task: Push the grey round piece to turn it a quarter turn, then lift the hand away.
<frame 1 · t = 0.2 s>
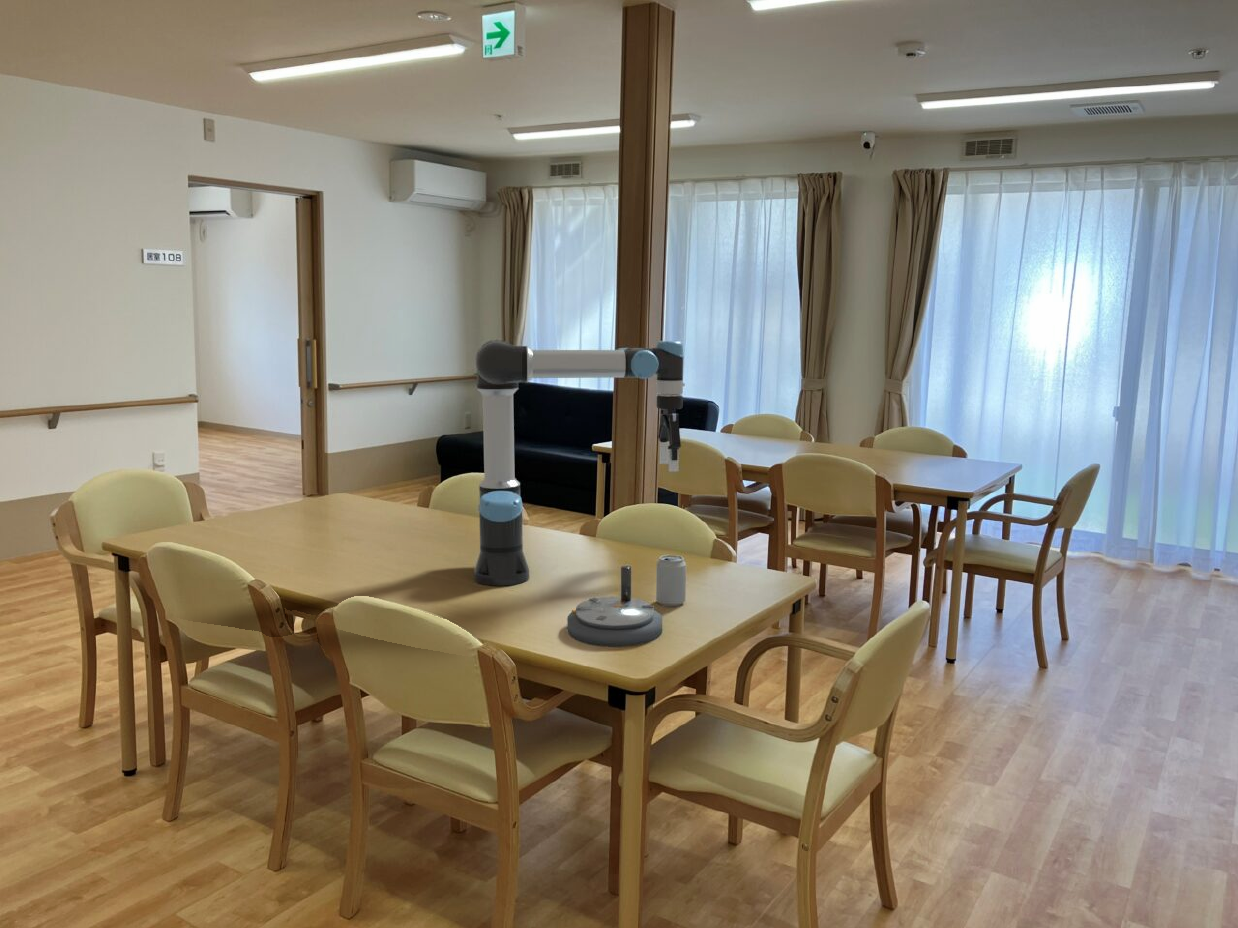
hand: (668, 467, 282), 28 cm above the table, tool pointing down, fingers open, 13 cm apart
can: (670, 603, 246), on the table
grey round piece: (614, 595, 223), point 8 cm above the table, hinge at 0.0°
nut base: (614, 630, 225), on the table
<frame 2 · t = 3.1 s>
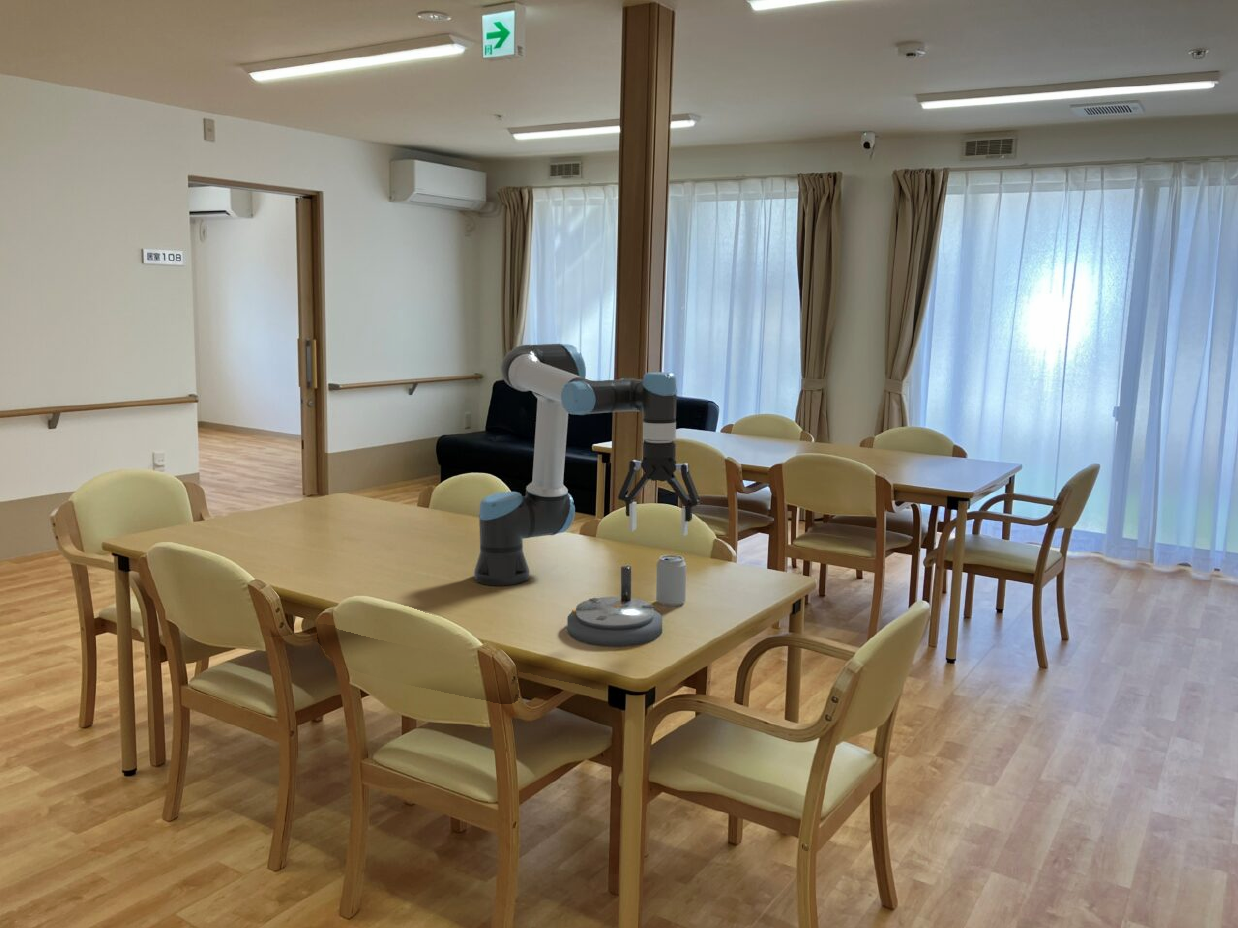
hand: (658, 532, 225), 22 cm above the table, tool pointing down, fingers open, 12 cm apart
nothing on the table moved.
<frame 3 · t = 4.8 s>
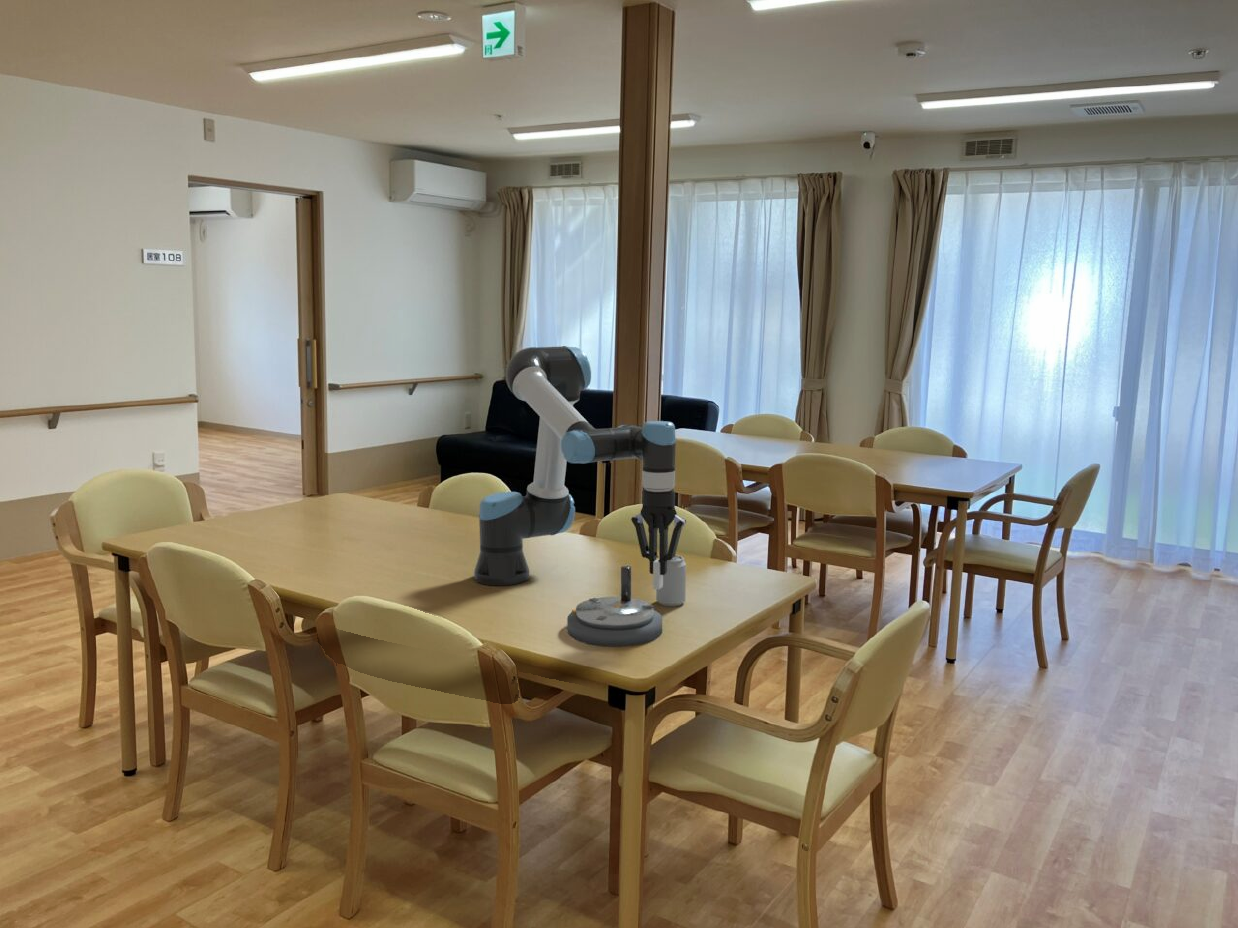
hand: (658, 587, 227), 9 cm above the table, tool pointing down, fingers closed
nothing on the table moved.
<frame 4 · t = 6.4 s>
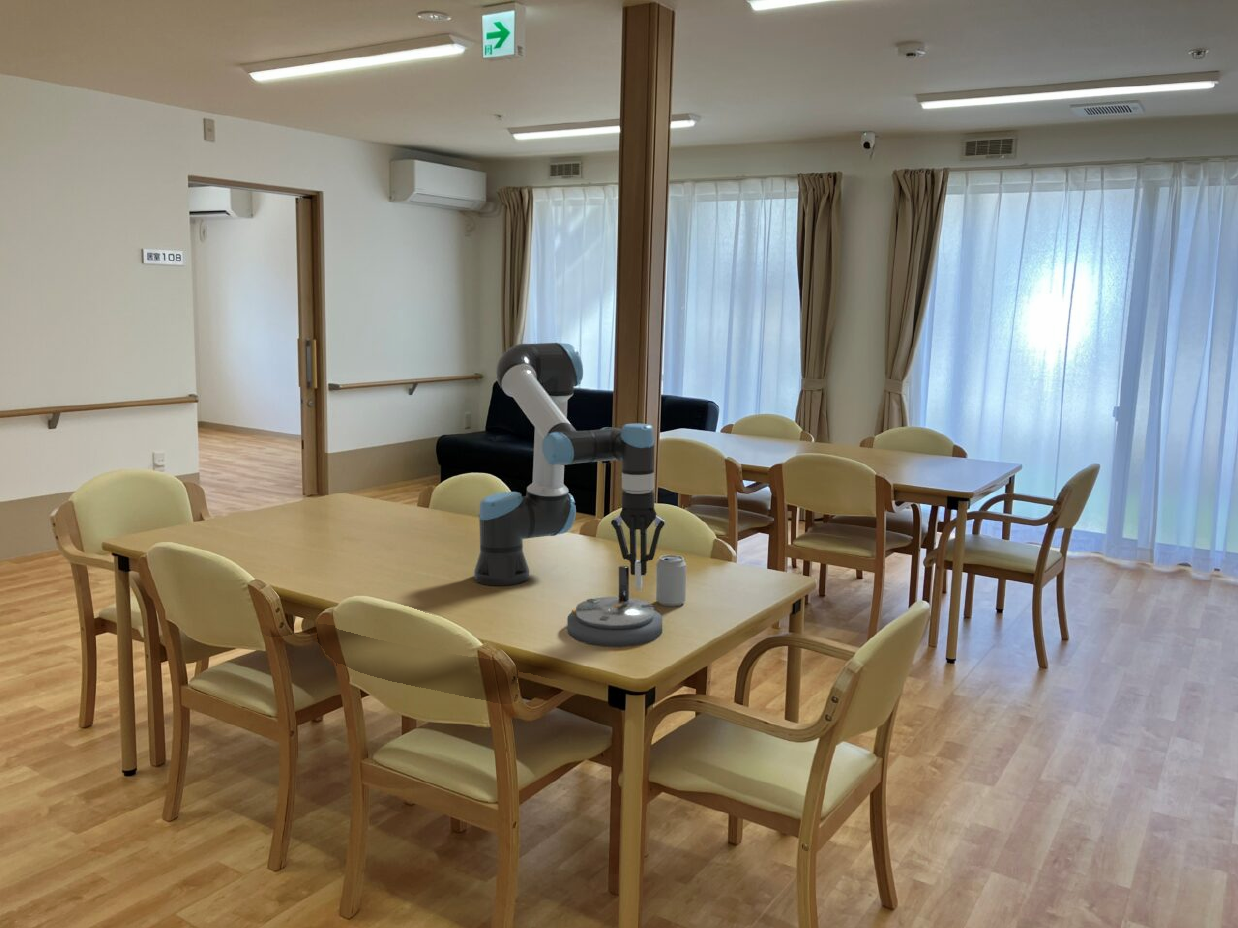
hand: (638, 588, 229), 8 cm above the table, tool pointing down, fingers closed
grey round piece: (614, 595, 223), point 8 cm above the table, hinge at 4.7°, touching gripper
everything else where it was.
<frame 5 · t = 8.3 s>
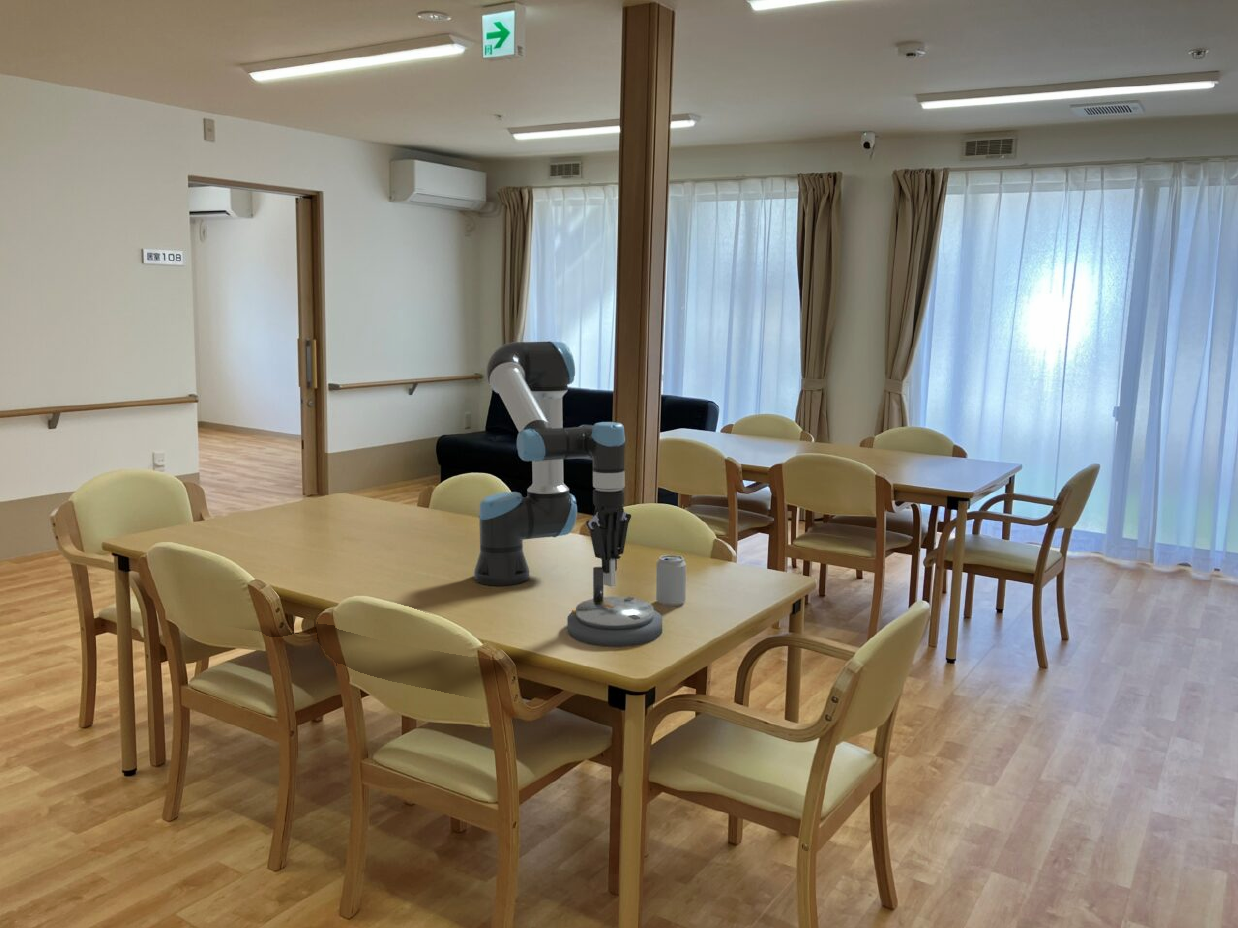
hand: (609, 585, 231), 8 cm above the table, tool pointing down, fingers closed
grey round piece: (614, 595, 223), point 8 cm above the table, hinge at 56.4°, touching gripper
everything else where it was.
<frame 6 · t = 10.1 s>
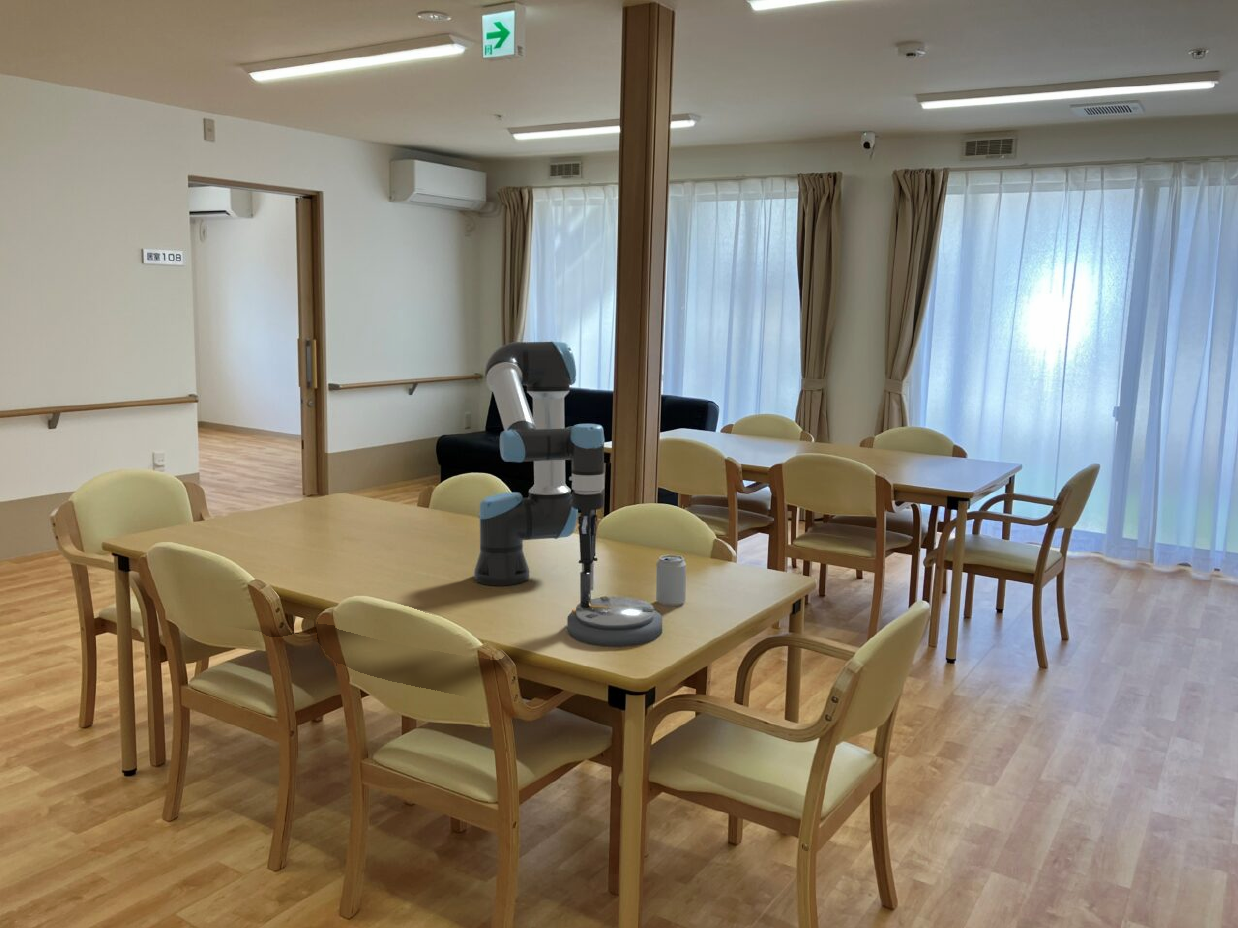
hand: (588, 588, 228), 8 cm above the table, tool pointing down, fingers closed
grey round piece: (614, 595, 223), point 8 cm above the table, hinge at 99.8°, touching gripper
everything else where it was.
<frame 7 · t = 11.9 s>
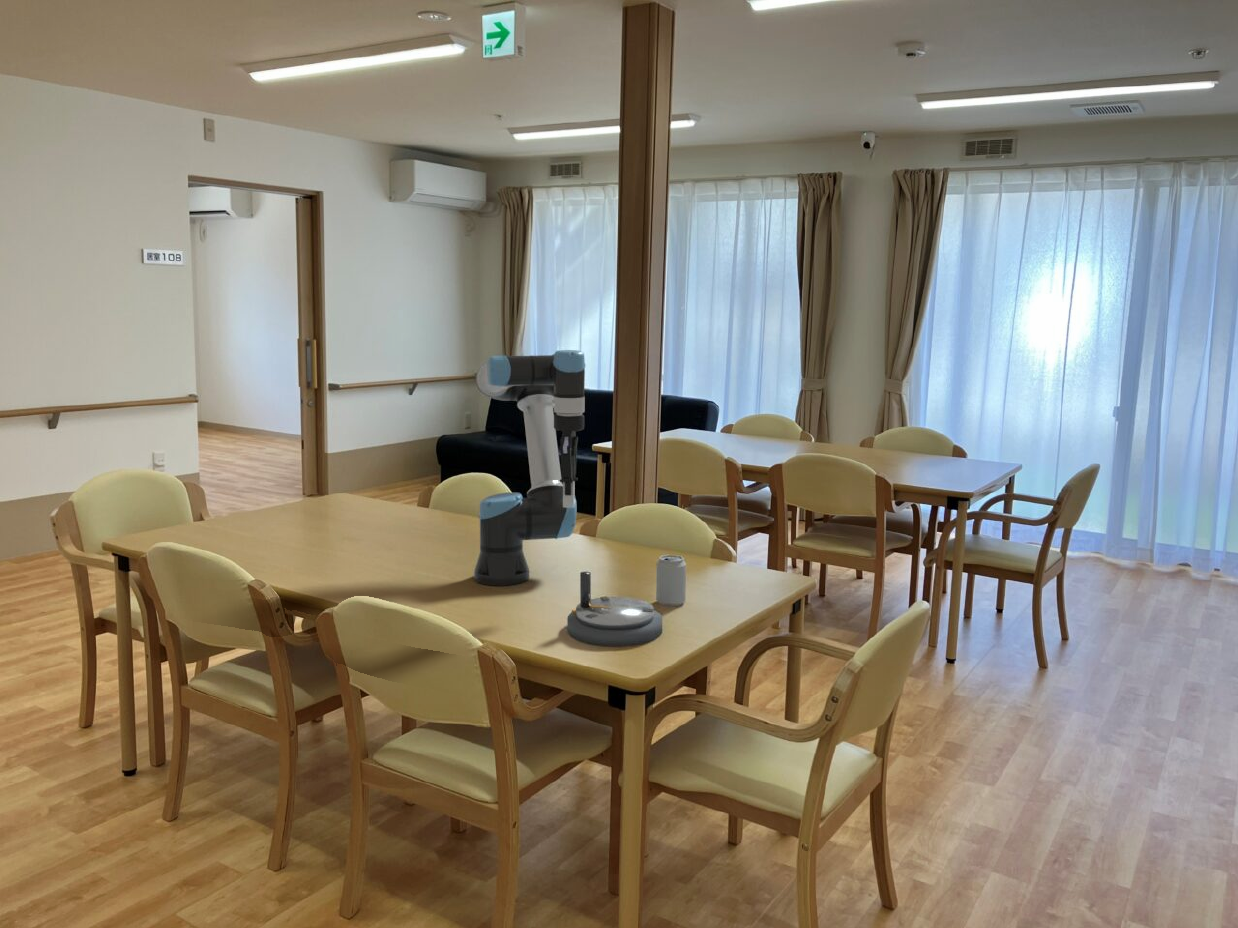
hand: (568, 506, 242), 25 cm above the table, tool pointing down, fingers closed
grey round piece: (614, 595, 223), point 8 cm above the table, hinge at 99.9°
everything else where it was.
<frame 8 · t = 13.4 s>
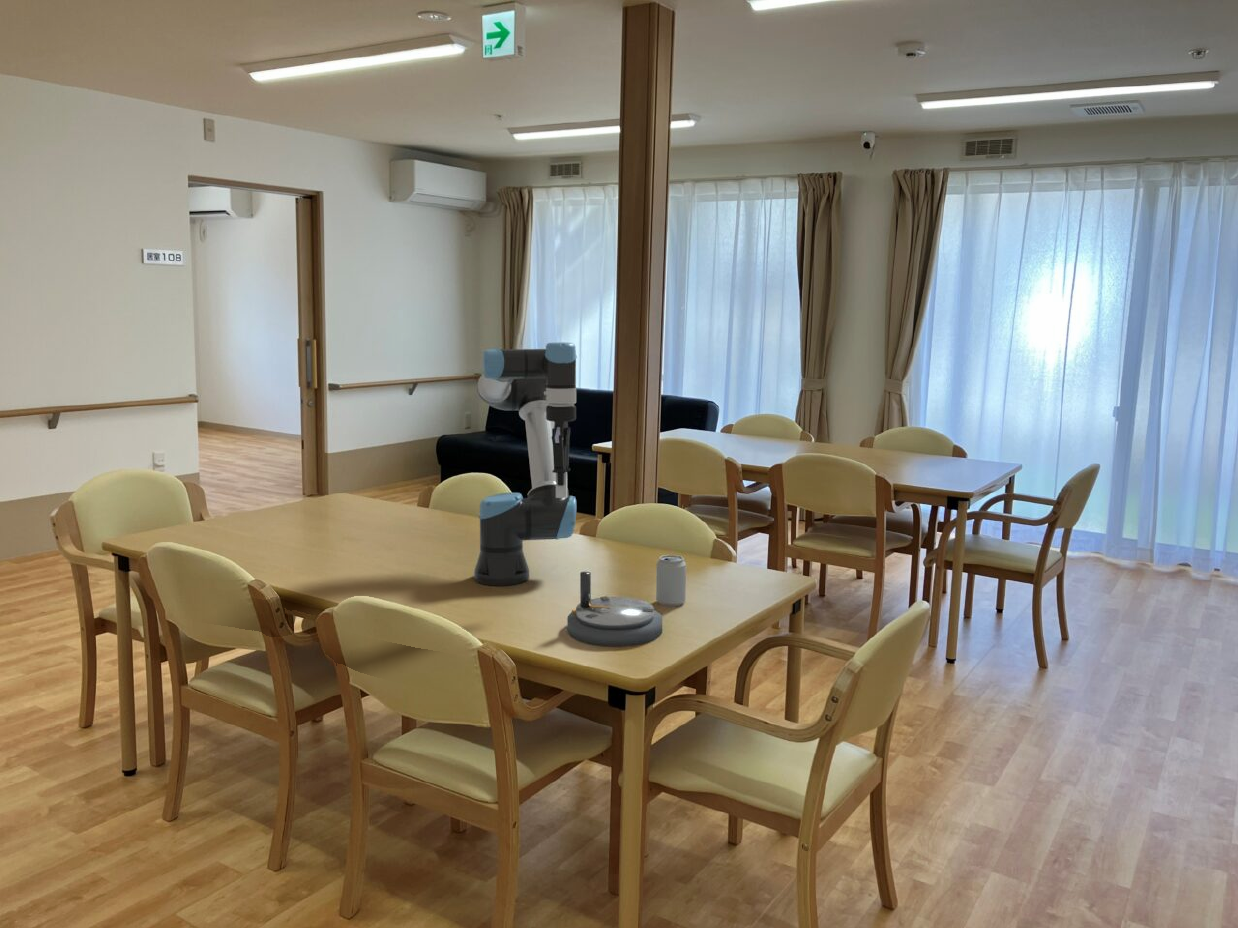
hand: (561, 497, 245), 26 cm above the table, tool pointing down, fingers closed
nothing on the table moved.
at the end: grey round piece at +100° (first picture: +0°); can moved 0.2 cm from its start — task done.
